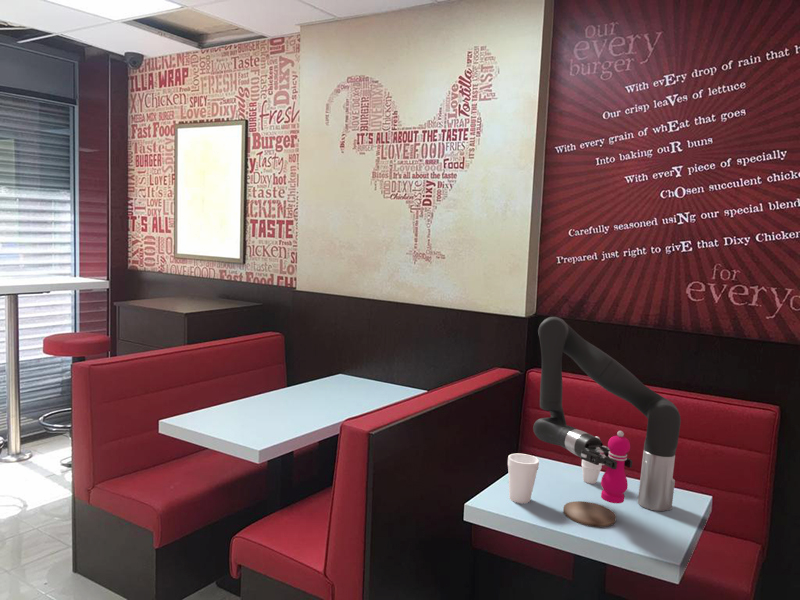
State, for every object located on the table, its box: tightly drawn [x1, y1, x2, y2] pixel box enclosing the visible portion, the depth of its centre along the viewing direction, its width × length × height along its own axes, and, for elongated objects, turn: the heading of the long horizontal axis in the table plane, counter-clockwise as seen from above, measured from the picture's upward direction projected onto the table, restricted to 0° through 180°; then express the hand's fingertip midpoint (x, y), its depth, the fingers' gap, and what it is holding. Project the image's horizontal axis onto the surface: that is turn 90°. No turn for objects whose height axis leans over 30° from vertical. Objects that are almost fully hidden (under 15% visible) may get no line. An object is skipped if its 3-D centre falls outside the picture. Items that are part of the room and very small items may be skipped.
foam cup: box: [507, 452, 540, 504], centre depth 207 cm, size 10×9×13 cm
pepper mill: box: [600, 430, 631, 504], centre depth 190 cm, size 7×7×20 cm
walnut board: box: [562, 500, 617, 528], centre depth 200 cm, size 15×15×1 cm
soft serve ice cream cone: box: [580, 436, 603, 485], centre depth 227 cm, size 8×8×16 cm
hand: (623, 464), depth 188 cm, fingers closed on pepper mill, 5 cm apart
